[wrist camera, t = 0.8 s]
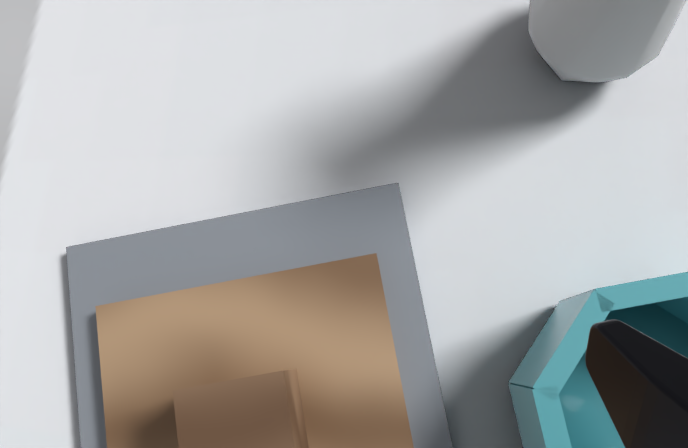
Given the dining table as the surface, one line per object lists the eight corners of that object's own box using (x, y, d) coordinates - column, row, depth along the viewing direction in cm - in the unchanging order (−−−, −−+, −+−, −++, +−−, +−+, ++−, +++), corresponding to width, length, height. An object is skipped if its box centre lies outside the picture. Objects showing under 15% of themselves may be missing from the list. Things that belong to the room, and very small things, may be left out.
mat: (490, 637, 23) (493, 644, 22) (107, 698, 23) (99, 707, 23) (398, 186, 27) (398, 182, 26) (73, 249, 28) (65, 246, 27)
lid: (435, 563, 23) (443, 602, 19) (130, 613, 23) (80, 661, 20) (377, 256, 26) (374, 239, 22) (104, 307, 26) (56, 299, 22)
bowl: (799, 519, 23) (907, 563, 18) (546, 561, 23) (585, 614, 18) (719, 272, 25) (797, 251, 20) (489, 314, 25) (511, 304, 21)
